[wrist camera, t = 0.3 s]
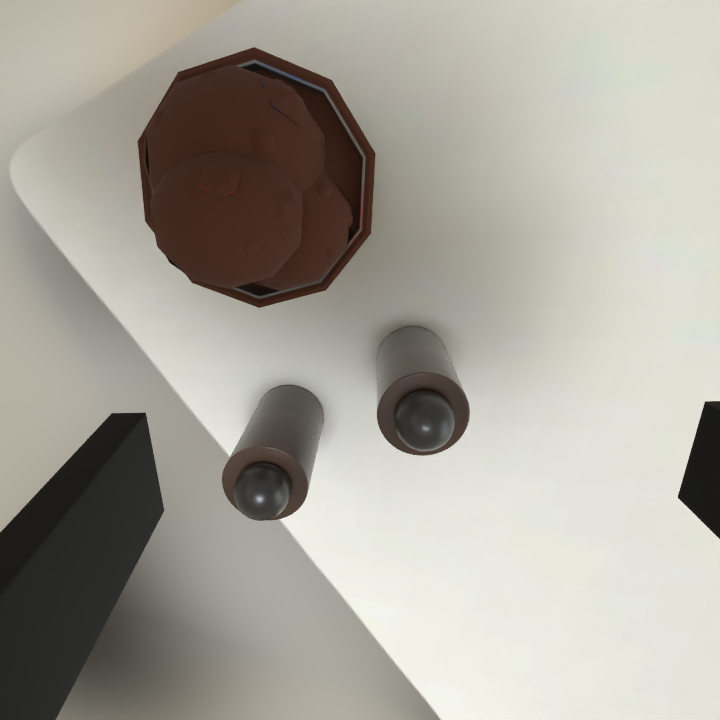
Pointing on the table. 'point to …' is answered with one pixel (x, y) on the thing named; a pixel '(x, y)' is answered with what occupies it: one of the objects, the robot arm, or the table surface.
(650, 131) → the table surface
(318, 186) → the ice cream bowl
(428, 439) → the walnut mill middle
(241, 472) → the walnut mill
